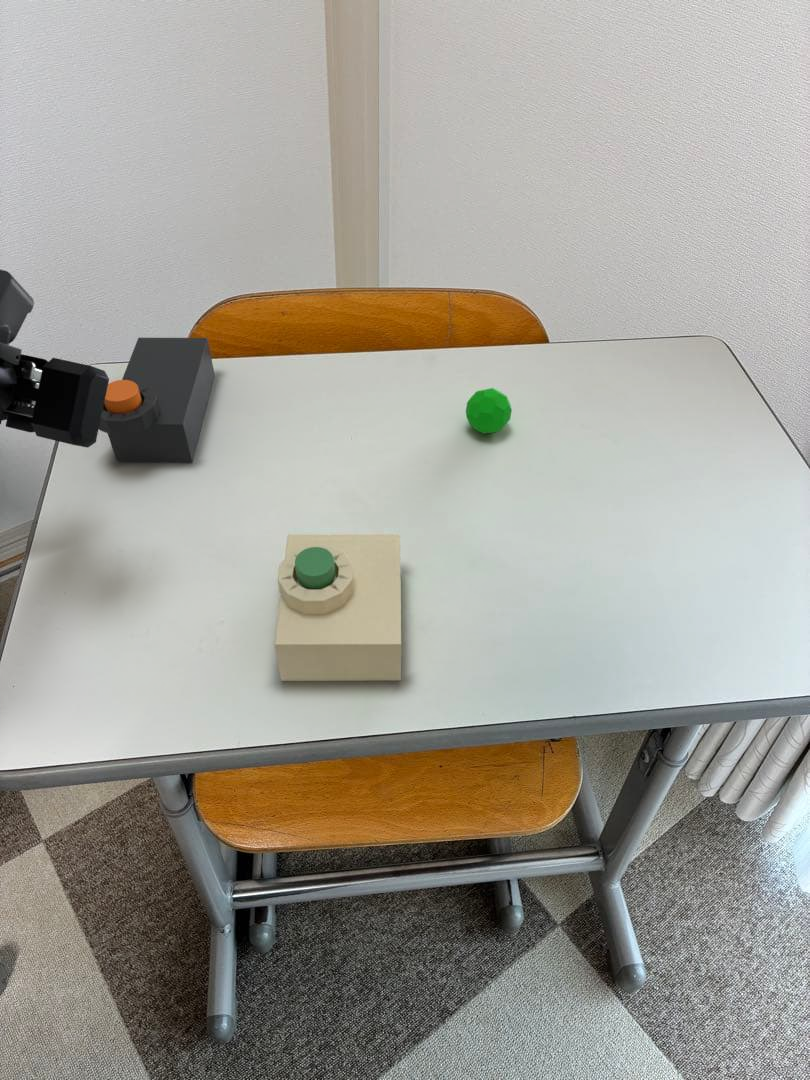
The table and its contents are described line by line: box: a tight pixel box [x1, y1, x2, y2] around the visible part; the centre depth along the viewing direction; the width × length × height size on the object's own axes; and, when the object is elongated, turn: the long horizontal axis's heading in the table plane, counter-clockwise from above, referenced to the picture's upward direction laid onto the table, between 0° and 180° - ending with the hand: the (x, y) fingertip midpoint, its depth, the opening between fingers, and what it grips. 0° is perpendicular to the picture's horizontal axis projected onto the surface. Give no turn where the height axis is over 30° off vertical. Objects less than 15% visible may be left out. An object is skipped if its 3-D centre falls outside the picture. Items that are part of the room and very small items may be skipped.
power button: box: [295, 547, 335, 589], centre depth 65 cm, size 3×3×2 cm
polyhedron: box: [465, 387, 513, 435], centre depth 88 cm, size 5×5×5 cm
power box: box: [274, 534, 402, 682], centre depth 68 cm, size 10×12×7 cm
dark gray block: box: [98, 337, 215, 464], centre depth 87 cm, size 9×18×7 cm, turn 1°
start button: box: [104, 379, 142, 414], centre depth 80 cm, size 4×4×2 cm
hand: (59, 402), depth 71 cm, fingers closed
